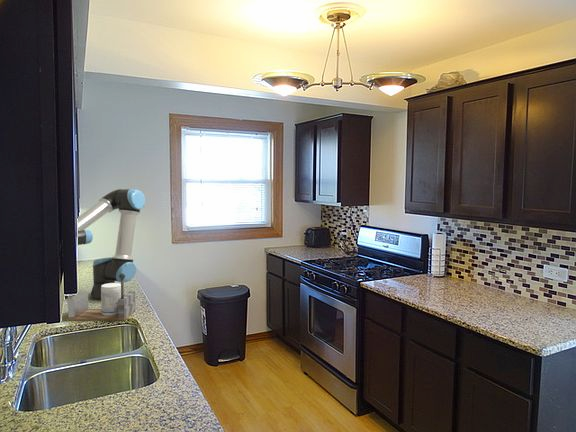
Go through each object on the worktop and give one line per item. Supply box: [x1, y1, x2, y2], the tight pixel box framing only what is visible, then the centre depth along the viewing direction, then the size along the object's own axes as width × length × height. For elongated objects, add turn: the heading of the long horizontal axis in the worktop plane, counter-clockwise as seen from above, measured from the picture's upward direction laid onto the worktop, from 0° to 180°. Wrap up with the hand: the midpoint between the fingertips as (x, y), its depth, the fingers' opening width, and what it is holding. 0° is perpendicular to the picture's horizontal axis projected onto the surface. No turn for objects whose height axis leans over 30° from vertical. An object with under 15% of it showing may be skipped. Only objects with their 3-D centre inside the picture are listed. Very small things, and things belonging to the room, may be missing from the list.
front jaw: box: [67, 291, 89, 318], centre depth 207 cm, size 15×3×9 cm, turn 2°
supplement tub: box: [100, 282, 121, 316], centre depth 207 cm, size 10×10×15 cm
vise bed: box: [65, 273, 136, 322], centre depth 207 cm, size 16×28×23 cm, turn 92°
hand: (63, 305), depth 207 cm, fingers closed
